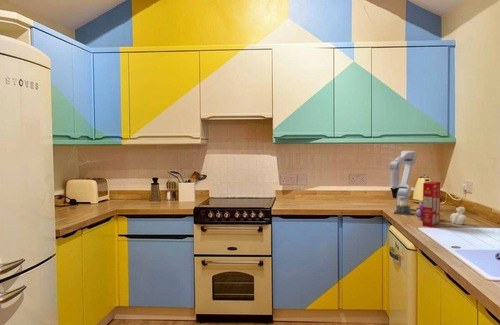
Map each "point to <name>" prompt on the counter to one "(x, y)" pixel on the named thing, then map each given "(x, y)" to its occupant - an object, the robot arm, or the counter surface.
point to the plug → (403, 203)
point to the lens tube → (403, 210)
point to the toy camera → (419, 211)
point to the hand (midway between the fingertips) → (394, 198)
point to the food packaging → (431, 203)
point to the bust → (458, 216)
